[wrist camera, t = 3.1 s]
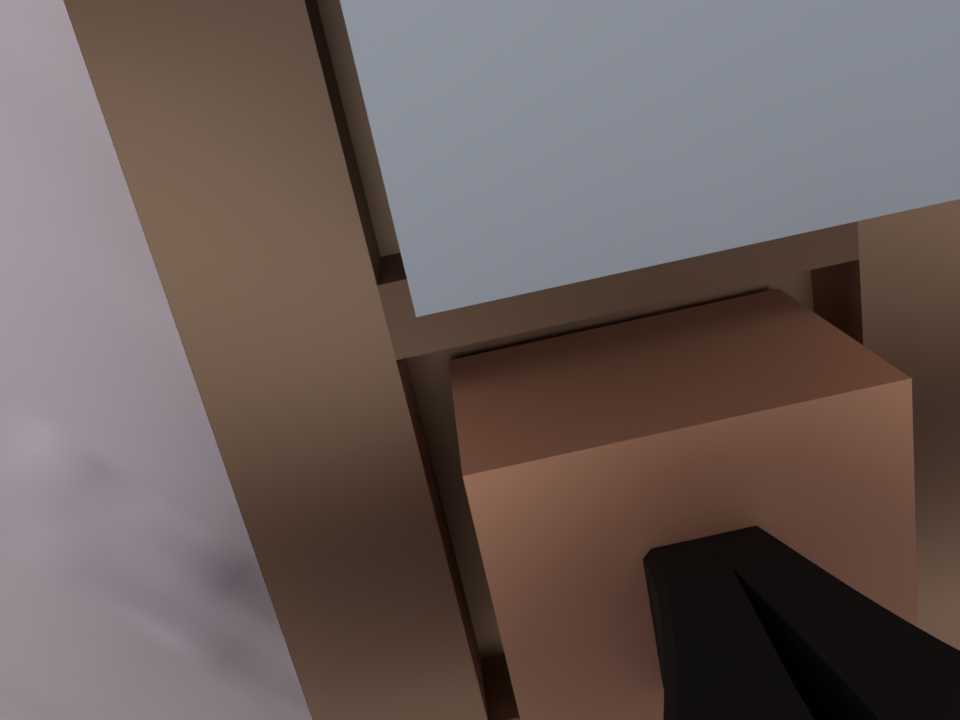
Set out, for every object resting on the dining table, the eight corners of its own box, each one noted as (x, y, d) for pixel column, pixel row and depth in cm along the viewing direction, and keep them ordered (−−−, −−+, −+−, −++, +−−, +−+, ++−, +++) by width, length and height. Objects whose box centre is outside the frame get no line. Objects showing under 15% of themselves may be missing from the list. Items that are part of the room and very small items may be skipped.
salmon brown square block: (802, 568, 14) (920, 729, 11) (510, 632, 14) (542, 813, 11) (778, 288, 12) (910, 378, 9) (448, 360, 12) (462, 476, 9)
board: (962, 930, 19) (1025, 1029, 17) (457, 1040, 19) (462, 1153, 17) (953, -722, 9) (1090, -911, 8) (-46, -506, 9) (-159, -642, 8)
